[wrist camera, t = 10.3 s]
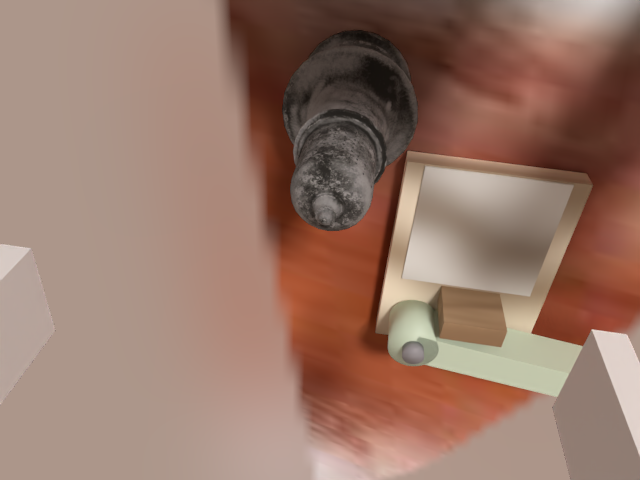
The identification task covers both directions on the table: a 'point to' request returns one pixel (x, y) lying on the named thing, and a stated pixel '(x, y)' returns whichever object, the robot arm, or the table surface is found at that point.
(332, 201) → the grey stone chess piece
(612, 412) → the robot arm
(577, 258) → the table surface
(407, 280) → the board
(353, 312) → the table surface
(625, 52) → the table surface
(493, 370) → the leg
